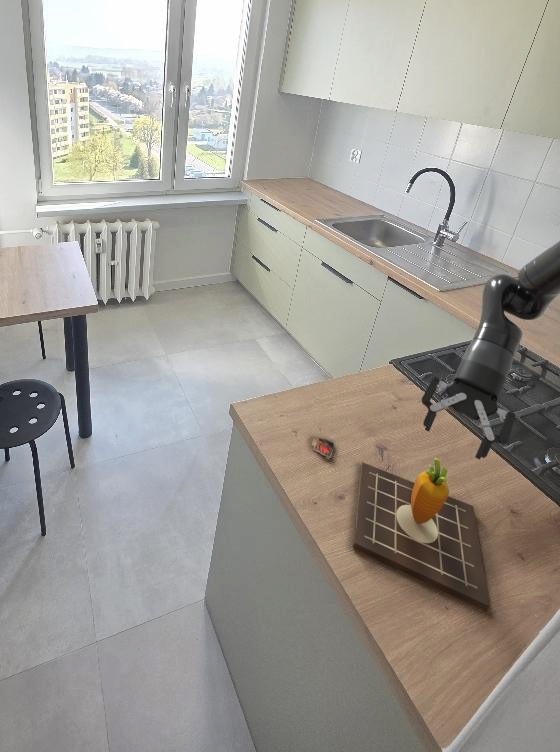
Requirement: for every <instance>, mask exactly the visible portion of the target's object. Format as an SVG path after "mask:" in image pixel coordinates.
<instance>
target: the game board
mask: <svg viewBox="0 0 560 752" xmlns="http://www.w3.org/2000/svg"><path fill="white" fill-rule="evenodd" d="M358 479H359V480H358V489H357V499H356V500H357V501H356V513H355V520H354V532H353V540H352V542H353V543H352V548H353V549H354V550H356V551H358V552H361V553H363V554H365V555H366V556H369V557H371V558H373V559H375V560H378V561H380V562H381V563H384V564H386V565H388V566H390V567H392V568H394V569H397V570H398V571H401V572H403V573H405V574H406V575H409V576H411V577H413V578H414V579H418V580H419V581H422V582H424V583H426V584H428V585H430V586H432V587H434V588H436V589H439V590H440V591H442V592H444V593H447V594H449V595H452V596H454V597H456V598H457V599H460V600H462V601H464V602H466V603H468V604H470V605H472V606H474V607H477V608H478V609H480V610H483V611H485V612H488V610H489V609H490V607H491V604H490V599H489V592H488V585H487V580H486V575H485V567H484V563H483V562H484V561H483V556H482V551H481V545H480V538H479V532H478V526H477V521H476V514H475V507H474V505H472V504H469V503H466V502H464V501H462V500H459V499H457V498H454V497H452V496H449V495H448V497H447V499H446V501H445V503H444V505H443V506H442V508H441V509H440V510H439V511H438V513H437V514H436V515H435V516H434V517H432V518H431V519H430V520H429V521H428V522H426V523H422V524H418V523H416V522H415V521H414V518H413V514H412V510H411V496H412V490H413V487H414V484H415V481H411V480H408V479H406V478H404V477H401V476H398V475H397V474H394V473H392V472H388V471H386V470H383V469H380V468H379V467H376V466H373V465H371V464H368V463H365V462H363V461H361V464H360V468H359V478H358Z"/></svg>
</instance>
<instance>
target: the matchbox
mask: <svg viewBox="0 0 560 752" xmlns="http://www.w3.org/2000/svg"><path fill="white" fill-rule="evenodd" d="M311 446H313V448H312V450H314V451H316V452H318V453H320V454H321V455H322V456H325V459H326V460H328V461H332V459H330V458H331V457H332V455H333V452H334V449H335V443H334V442H333V441H331V440H328V439H326V438H322V437H318V438H313V439H311Z"/></svg>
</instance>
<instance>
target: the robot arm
mask: <svg viewBox="0 0 560 752" xmlns="http://www.w3.org/2000/svg"><path fill="white" fill-rule="evenodd" d="M559 295H560V240H558V241H557V242H555V243H554V244H553V245H552V246H550V247H548V248H547V249H545V250H544V251H542V252H541V253H539V255H537V256H536V257H534V258H533V259H531V260H530V261H529V262H528V263H526V264H524V265H523V266H522V267H521V269H520V270H519V271H518V274H517V278H516V277H515V276H511V275H509V274H505V273H498V274H495V275H493V276H491V277H490V278H489V279H487V281H486V282H485V284H484V286H483V289H482V296H481V311H480V312H481V313H480V319H479V322H478V323H479V324H478V325H477V328H476V331H475V333H474V335H473V338H472V340H471V342H470V343H469V345H468V346H467V348H466V350H465V351H464V353H463V355H462V358H461V361H460V362H459V366H458V367H457V370H456V372H455V374H454V376H453V378H452V381H451V382H450V383H446V382H444V381H443V380H441V379H440V378H439V377H438V376H433V377H432V378H431V381H430V382H429V384H428V386H427V388H426V390H425V391H424V394H423V395H422V397H421V399H420V400H421V404H422V405H423V406H425V408H427V412H426V415H425V417H424V420H423V421H422V422H423V423H422V425H423V427H425V428H424V431H426V432H428V433H429V432H430V431H431V428H432V426H433V424H434V423H435V422H434V421H435V419H436V417H437V413H439V412H441V411H445V410H448V409H450V408H452V410H454V412H456V413H458V414H461V415H464V416H465V417H467V418H468V419H469V420H471V421H478V424H479V426H480V429H481V431H482V433H483V436H484V437H483V438H482V440H481V442H480V444H479V446H478V449H477V452H476V454H475V456H474V457H475V459H477V460H481V458H482V459H486V458H487V457H488V454H489V452H490V450H491V448H492V445H493V444H499V445H502V446H504V445H506V444H507V443H508V442H509V439H510V435H511V432H512V429H513V426H514V424H515V423H514V422H515V419H516V413H515V412H513V411H509V410H505V409H503V408H500V407H498V401H499V398H500V397H501V394H502V391H503V389H504V386H505V384H506V382H507V380H508V378H509V376H510V372H511V369H512V367H513V362H514V358H515V355H516V354H517V351H518V348H519V346H520V344H521V341H522V339H523V331H522V329H521V328H520V327H519V325H517V324H515V323H514V322H513V321H512V320H510V319H509V318H508V317H507V316H506V314H505V313H507V314H509V315H512V316H514V317H516V318H518V319H520V320H524V321H533V320H537V319H540V318H541V317H542V316H543V315H544V314H545V313H546V311H547V310H548V308H549V307H550V305H551V304H552V302H554V300H555V299H556V298H557V297H559ZM442 390H445V391H446V394H447V398H445V399H442V400H441V401H438V402H436V403H433V402H431V400H432V398H433V396H434V394H435V393H436V391H437V392H440V391H442ZM495 414H497V415H498V420H499V421H500V422H501V423H502V425H501V429H500V432H499V435H497V434H494V432H493V430H492V427H491V423H490V421H489V416H492V415H495Z"/></svg>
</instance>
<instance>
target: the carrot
mask: <svg viewBox="0 0 560 752" xmlns="http://www.w3.org/2000/svg"><path fill="white" fill-rule="evenodd" d="M433 461H434V462H433V463H434V466H433V465H432V464H429V465H428V468H429V470H427V469H425V470H424V471H423V472H420V474H418V475H417V477H416V478H415V481H414V483H415V484H414V487H413V490H412V496H411V510H412V514H413V518H414V521H415V522H416V523H418V524H422V523H426V522H428V521H429V520H430V519H431V518H432V517H434V516H435V515H436V514H437V513H438V511H439V510H440V509H441V508H442V506H443V505H444V503H445V501H446V499H447V497H448V496H449V495H450V489H449V486H448V485H447V478H446V477H447V474H448V472H449V470H448V469H447V467H445V466H443V468H442V469H441V463H440V462H441V461H440V459H439V458H438V457H434V458H433ZM441 470H442V471H441Z"/></svg>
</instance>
